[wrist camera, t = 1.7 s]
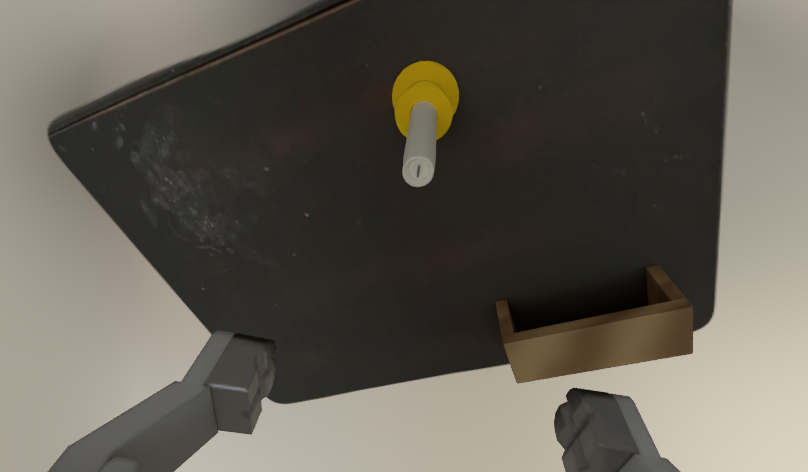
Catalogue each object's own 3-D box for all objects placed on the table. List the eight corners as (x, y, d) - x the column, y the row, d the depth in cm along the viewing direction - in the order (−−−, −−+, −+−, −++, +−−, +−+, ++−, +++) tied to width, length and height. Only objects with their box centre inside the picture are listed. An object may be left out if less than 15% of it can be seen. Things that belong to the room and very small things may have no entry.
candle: (418, 45, 28) (403, 93, 15) (472, 88, 30) (501, 166, 17) (379, 103, 31) (338, 188, 18) (431, 141, 32) (428, 245, 19)
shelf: (658, 264, 37) (693, 307, 32) (660, 307, 40) (693, 353, 35) (495, 301, 41) (503, 344, 36) (507, 338, 44) (517, 384, 39)
